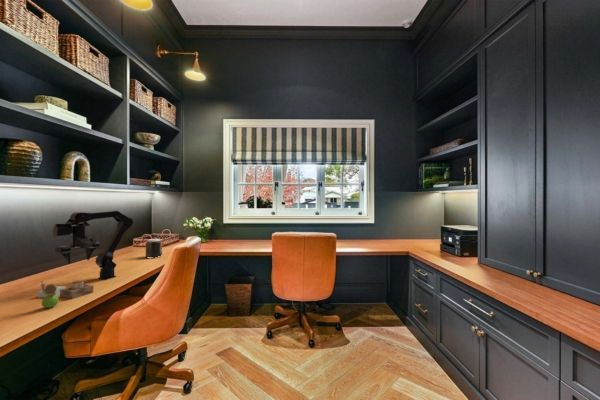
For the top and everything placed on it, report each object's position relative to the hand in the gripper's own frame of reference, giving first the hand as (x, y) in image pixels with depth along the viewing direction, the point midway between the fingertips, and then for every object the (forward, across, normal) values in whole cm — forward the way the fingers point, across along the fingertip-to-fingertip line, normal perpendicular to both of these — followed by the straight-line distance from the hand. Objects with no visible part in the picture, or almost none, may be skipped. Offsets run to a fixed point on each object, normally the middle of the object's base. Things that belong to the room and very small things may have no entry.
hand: (78, 261), depth 139 cm
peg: (+13, -10, -16) cm, 23 cm away
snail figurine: (+13, -24, -22) cm, 35 cm away
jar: (+13, +66, +20) cm, 70 cm away
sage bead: (+13, -14, -4) cm, 20 cm away
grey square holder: (+13, -10, -16) cm, 23 cm away
